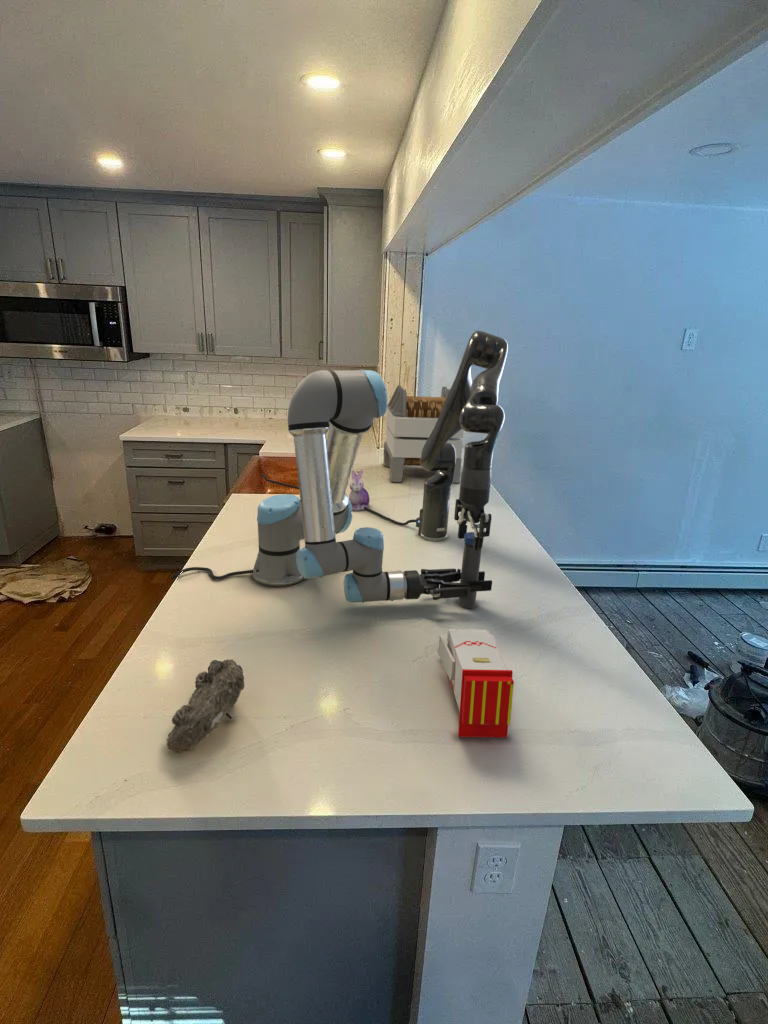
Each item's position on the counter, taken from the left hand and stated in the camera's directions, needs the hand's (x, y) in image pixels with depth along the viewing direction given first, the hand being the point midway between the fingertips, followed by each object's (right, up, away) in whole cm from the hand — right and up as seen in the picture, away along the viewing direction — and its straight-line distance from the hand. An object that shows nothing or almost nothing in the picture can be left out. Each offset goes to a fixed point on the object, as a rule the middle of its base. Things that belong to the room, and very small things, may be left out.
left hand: (487, 580), depth 153 cm
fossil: (-61, -21, -45) cm, 78 cm away
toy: (-10, -19, -34) cm, 41 cm away
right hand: (-6, +10, -5) cm, 13 cm away
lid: (-4, +12, -5) cm, 14 cm away
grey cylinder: (-5, -6, +1) cm, 9 cm away
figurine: (-38, +20, +71) cm, 83 cm away
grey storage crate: (-11, +37, +122) cm, 128 cm away
